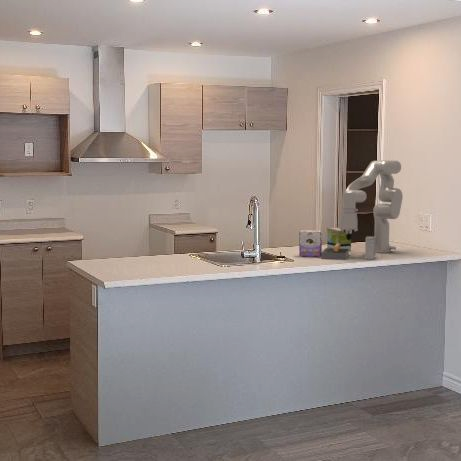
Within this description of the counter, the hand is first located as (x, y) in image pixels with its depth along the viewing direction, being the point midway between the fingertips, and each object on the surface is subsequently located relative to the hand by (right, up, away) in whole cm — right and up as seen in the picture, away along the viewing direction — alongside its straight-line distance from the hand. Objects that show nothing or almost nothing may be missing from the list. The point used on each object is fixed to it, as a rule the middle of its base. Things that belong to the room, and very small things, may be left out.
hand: (348, 240), depth 457 cm
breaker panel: (-8, -11, +3) cm, 14 cm away
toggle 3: (-6, -6, +8) cm, 11 cm away
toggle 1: (-7, -6, +3) cm, 10 cm away
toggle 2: (-9, -7, -3) cm, 11 cm away
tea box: (-1, -8, +32) cm, 33 cm away
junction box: (+13, -11, -2) cm, 17 cm away
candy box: (-23, -11, +6) cm, 26 cm away
